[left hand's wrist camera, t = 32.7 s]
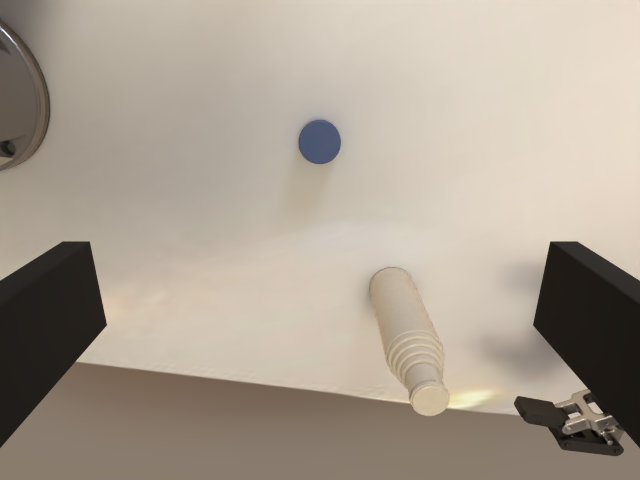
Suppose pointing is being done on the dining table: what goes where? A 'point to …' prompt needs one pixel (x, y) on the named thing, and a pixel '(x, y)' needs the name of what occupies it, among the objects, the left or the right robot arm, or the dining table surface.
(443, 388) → the bottle
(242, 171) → the dining table surface
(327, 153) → the cap
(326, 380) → the dining table surface
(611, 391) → the left robot arm
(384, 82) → the dining table surface
